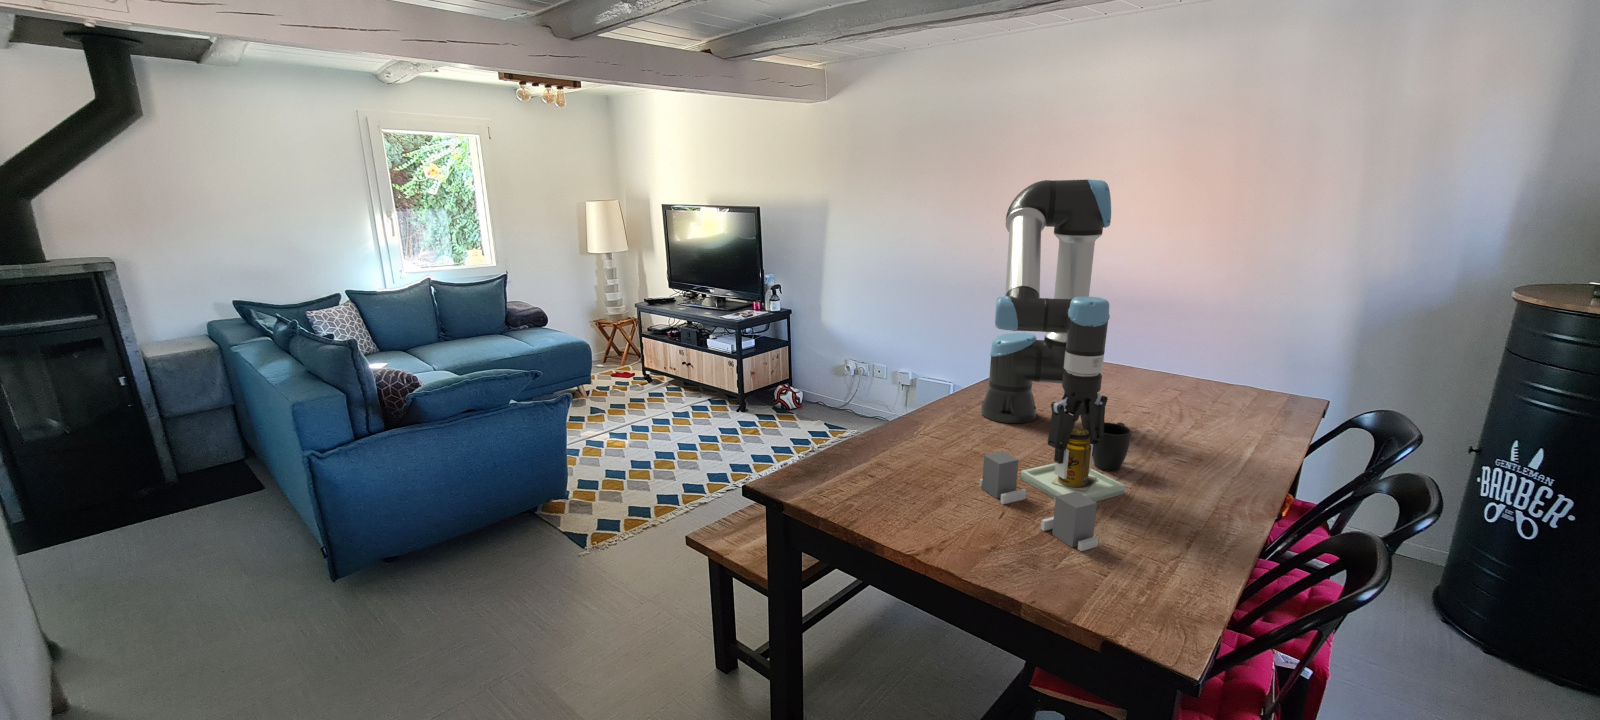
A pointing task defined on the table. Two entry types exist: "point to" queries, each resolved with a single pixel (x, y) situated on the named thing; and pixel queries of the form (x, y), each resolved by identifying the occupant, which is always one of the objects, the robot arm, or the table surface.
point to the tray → (1096, 492)
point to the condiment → (1078, 462)
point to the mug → (1112, 447)
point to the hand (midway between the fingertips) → (1072, 473)
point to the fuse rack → (1070, 509)
